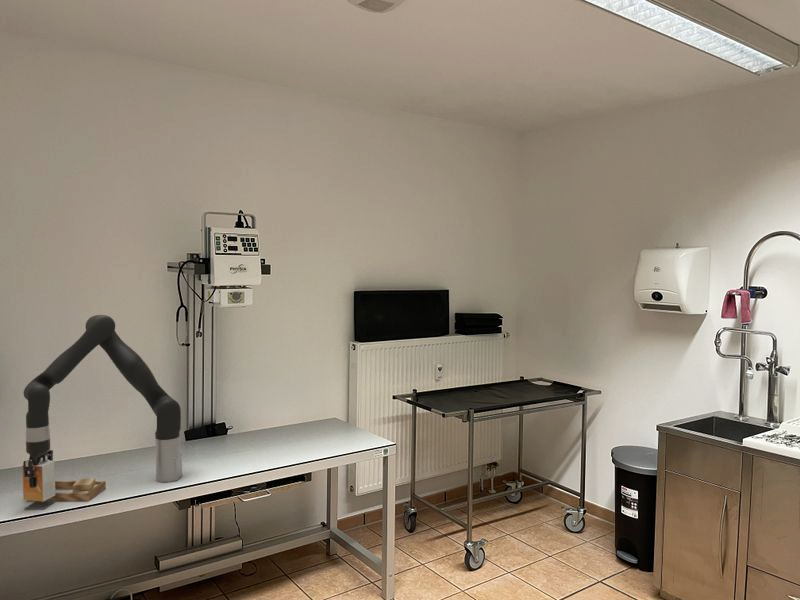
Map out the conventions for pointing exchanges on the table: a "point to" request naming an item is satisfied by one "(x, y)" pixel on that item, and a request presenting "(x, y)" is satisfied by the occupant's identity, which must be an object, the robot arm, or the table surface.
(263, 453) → the table surface
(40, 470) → the small box
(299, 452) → the table surface
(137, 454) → the table surface
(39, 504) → the mat
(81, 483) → the offcut top
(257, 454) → the table surface
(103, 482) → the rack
